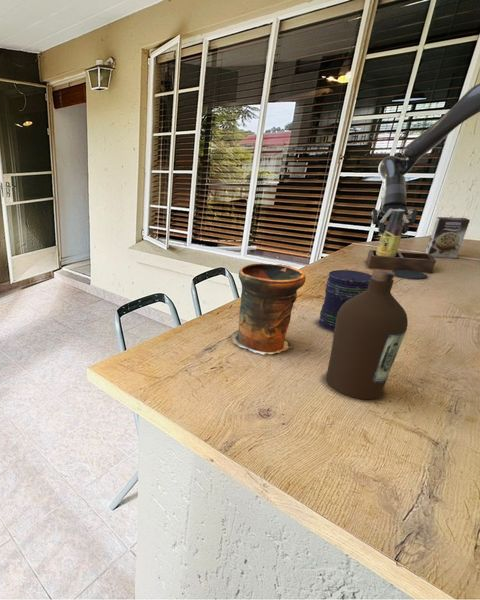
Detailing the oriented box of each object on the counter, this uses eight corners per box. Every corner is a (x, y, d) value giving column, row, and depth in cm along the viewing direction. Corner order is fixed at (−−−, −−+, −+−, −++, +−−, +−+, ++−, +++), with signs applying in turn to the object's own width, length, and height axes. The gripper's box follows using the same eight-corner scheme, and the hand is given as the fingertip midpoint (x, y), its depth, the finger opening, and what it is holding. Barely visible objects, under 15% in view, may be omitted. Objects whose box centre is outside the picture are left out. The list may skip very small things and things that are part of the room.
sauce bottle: (371, 257, 146) (383, 208, 139) (389, 257, 145) (401, 208, 137) (380, 261, 140) (393, 211, 133) (398, 261, 139) (412, 210, 132)
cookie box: (427, 256, 151) (439, 218, 145) (424, 253, 156) (436, 216, 150) (457, 258, 146) (470, 219, 140) (453, 255, 151) (466, 217, 145)
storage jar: (316, 316, 104) (326, 268, 98) (356, 321, 100) (369, 271, 94) (320, 331, 96) (331, 279, 90) (365, 336, 91) (379, 283, 86)
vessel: (271, 363, 82) (284, 284, 75) (219, 341, 94) (226, 270, 86) (303, 345, 89) (318, 270, 82) (252, 326, 101) (261, 259, 93)
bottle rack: (426, 265, 140) (429, 253, 138) (432, 273, 132) (436, 260, 130) (366, 261, 150) (369, 249, 148) (368, 267, 142) (371, 256, 140)
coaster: (423, 272, 133) (423, 271, 133) (428, 280, 125) (429, 279, 125) (389, 270, 138) (389, 268, 138) (392, 277, 130) (392, 276, 130)
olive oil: (313, 383, 74) (338, 272, 65) (334, 366, 80) (360, 261, 71) (373, 409, 66) (412, 285, 57) (393, 387, 72) (431, 272, 62)
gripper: (374, 192, 142) (372, 226, 137) (421, 191, 136) (421, 227, 130) (368, 204, 149) (367, 237, 143) (413, 203, 142) (413, 238, 137)
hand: (393, 232), depth 137 cm, fingers closed on sauce bottle, 6 cm apart
